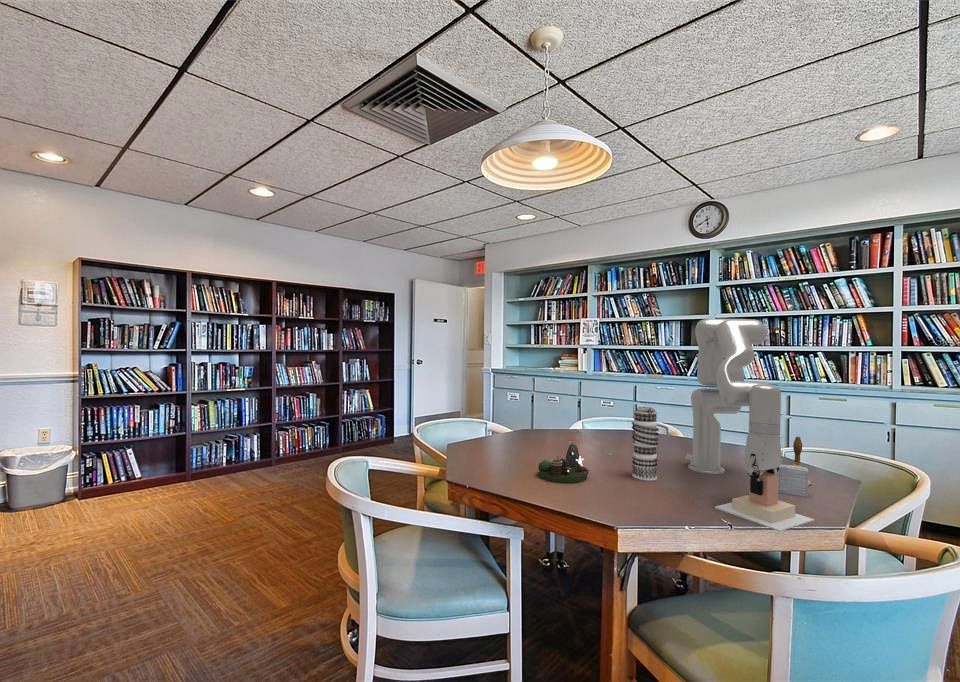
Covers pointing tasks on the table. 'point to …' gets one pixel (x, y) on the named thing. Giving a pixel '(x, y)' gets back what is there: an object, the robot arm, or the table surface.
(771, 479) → the terracotta block
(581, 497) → the table surface
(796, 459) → the hand bell
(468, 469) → the table surface
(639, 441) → the black white tall cylinder
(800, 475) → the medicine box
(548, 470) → the toy scene
